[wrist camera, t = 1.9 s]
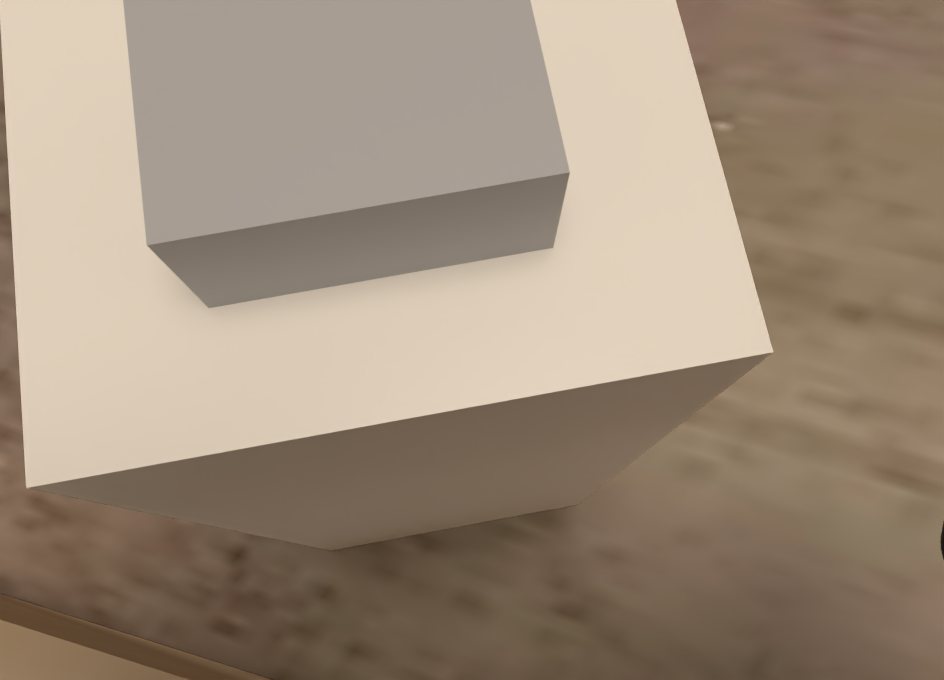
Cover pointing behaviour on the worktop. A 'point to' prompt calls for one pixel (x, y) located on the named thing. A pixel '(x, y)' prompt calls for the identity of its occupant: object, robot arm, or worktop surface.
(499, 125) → the white tall post
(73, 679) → the tray
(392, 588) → the worktop surface
